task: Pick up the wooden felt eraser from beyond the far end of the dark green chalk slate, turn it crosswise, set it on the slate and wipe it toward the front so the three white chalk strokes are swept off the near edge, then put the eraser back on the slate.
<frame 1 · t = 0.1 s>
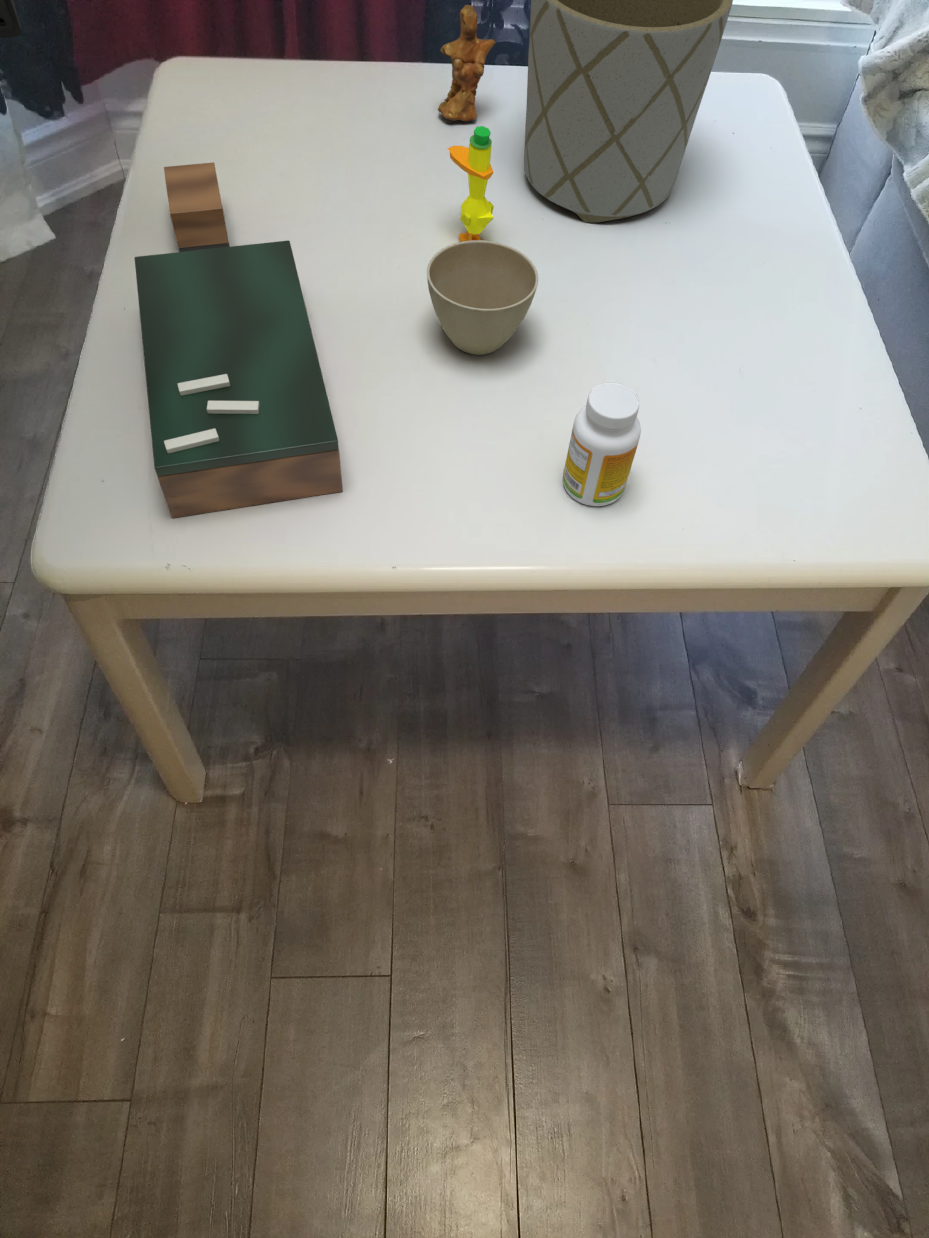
hand: (9, 10, 75), 21 cm above the table, tool pointing down, fingers open, 8 cm apart
eraser: (202, 232, 94), on the table
planter: (596, 182, 103), on the table
flower pot: (477, 339, 88), on the table
chalk stroke 3: (204, 387, 74), point 6 cm above the table, touching chalkboard
chalk stroke 2: (233, 409, 73), point 6 cm above the table, touching chalkboard
toy figure: (469, 241, 96), on the table
figurine: (461, 120, 109), on the table
chalkboard: (240, 395, 82), on the table
supplement bottle: (592, 485, 78), on the table
chalk stroke 1: (192, 443, 70), point 6 cm above the table, touching chalkboard
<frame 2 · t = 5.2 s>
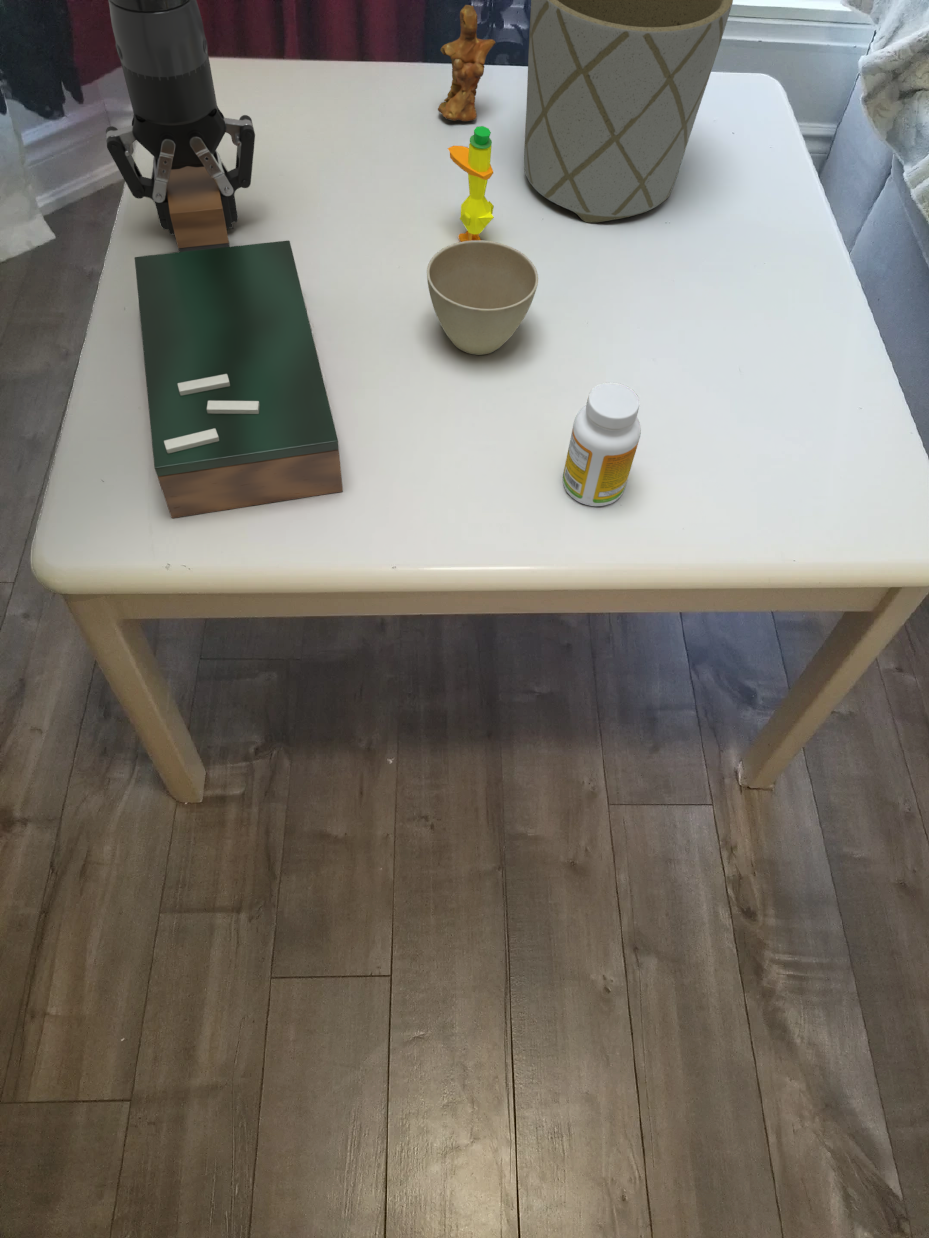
hand: (200, 226, 94), 1 cm above the table, tool pointing down, fingers closed on eraser, 5 cm apart
eraser: (202, 232, 94), on the table, touching gripper
everything else where it was.
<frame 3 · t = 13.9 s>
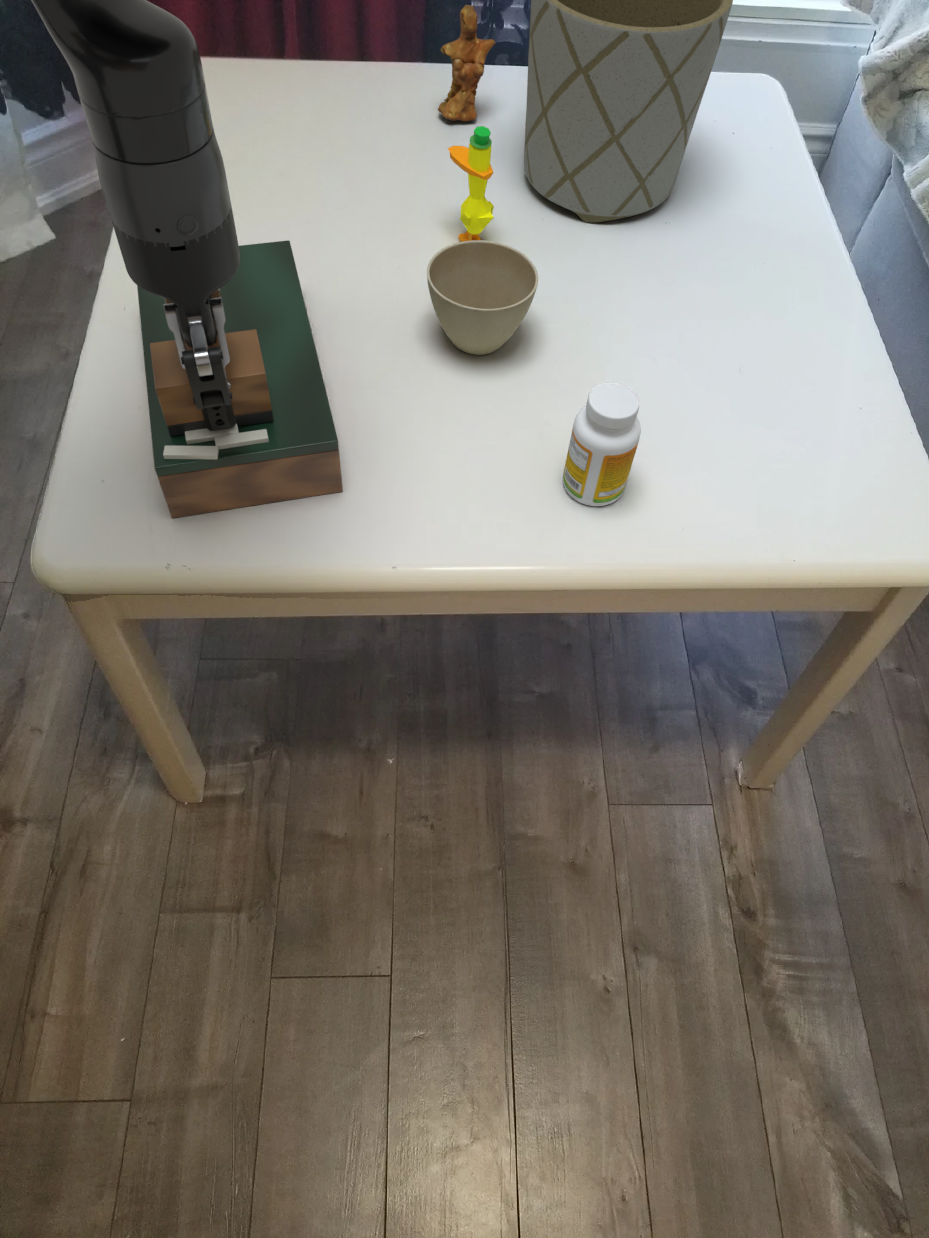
hand: (216, 400, 72), 7 cm above the table, tool pointing down, fingers closed on eraser, 5 cm apart
eraser: (218, 407, 73), point 6 cm above the table, touching chalk stroke 3, gripper
chalk stroke 3: (212, 436, 71), point 6 cm above the table, touching chalkboard, eraser
chalk stroke 2: (242, 441, 71), point 6 cm above the table, touching chalk stroke 1, chalkboard
chalk stroke 1: (191, 454, 70), point 6 cm above the table, touching chalk stroke 2, chalkboard
everything else where it was.
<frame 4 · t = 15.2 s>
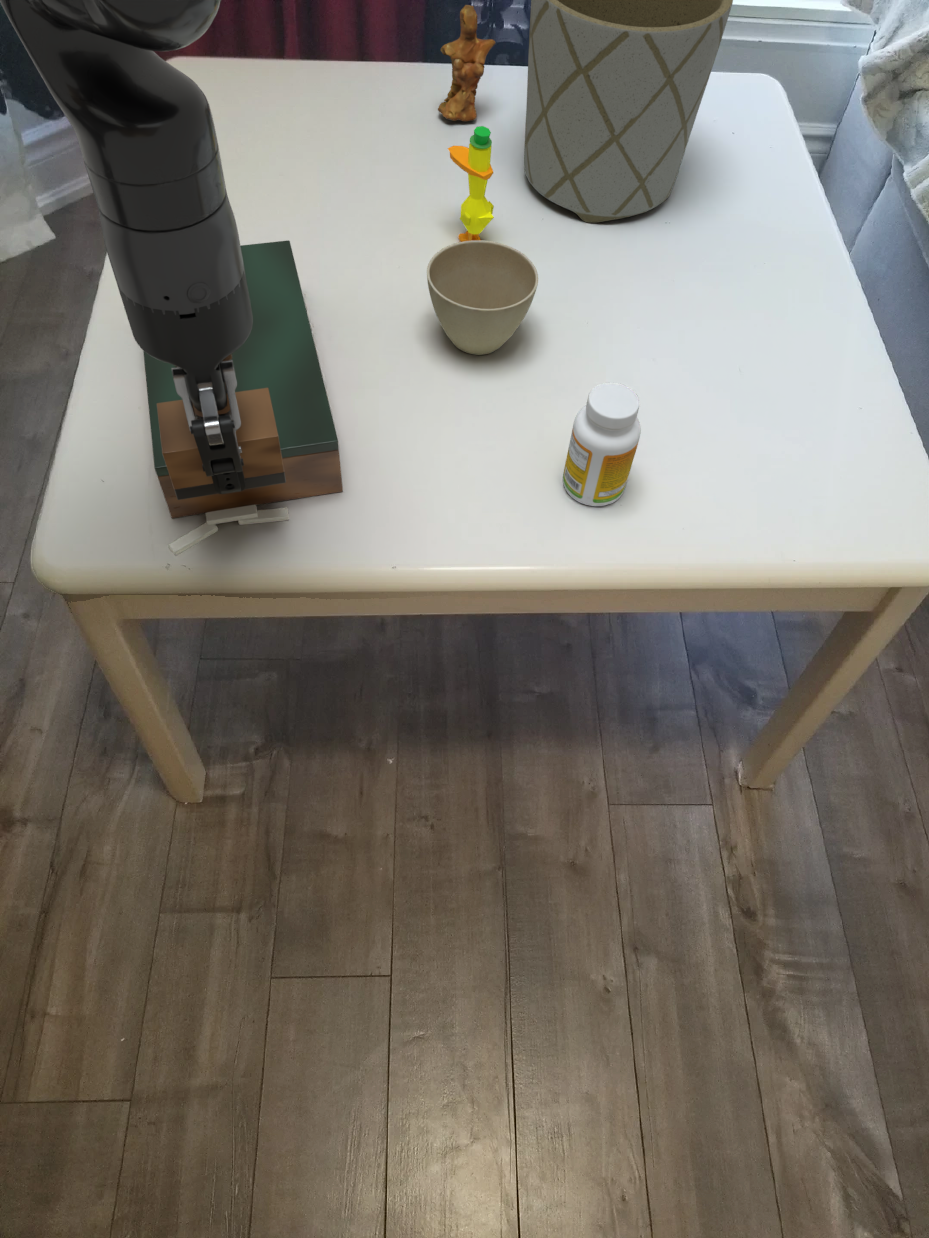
hand: (226, 460, 69), 7 cm above the table, tool pointing down, fingers closed on eraser, 5 cm apart
eraser: (228, 467, 69), point 6 cm above the table, touching gripper
chalk stroke 3: (231, 512, 73), point 1 cm above the table, tilted 178°, touching chalk stroke 1, chalk stroke 2
chalk stroke 2: (262, 514, 74), on the table, tilted 180°, touching chalk stroke 3
chalk stroke 1: (192, 535, 73), on the table, tilted 180°, touching chalk stroke 3
everything else where it was.
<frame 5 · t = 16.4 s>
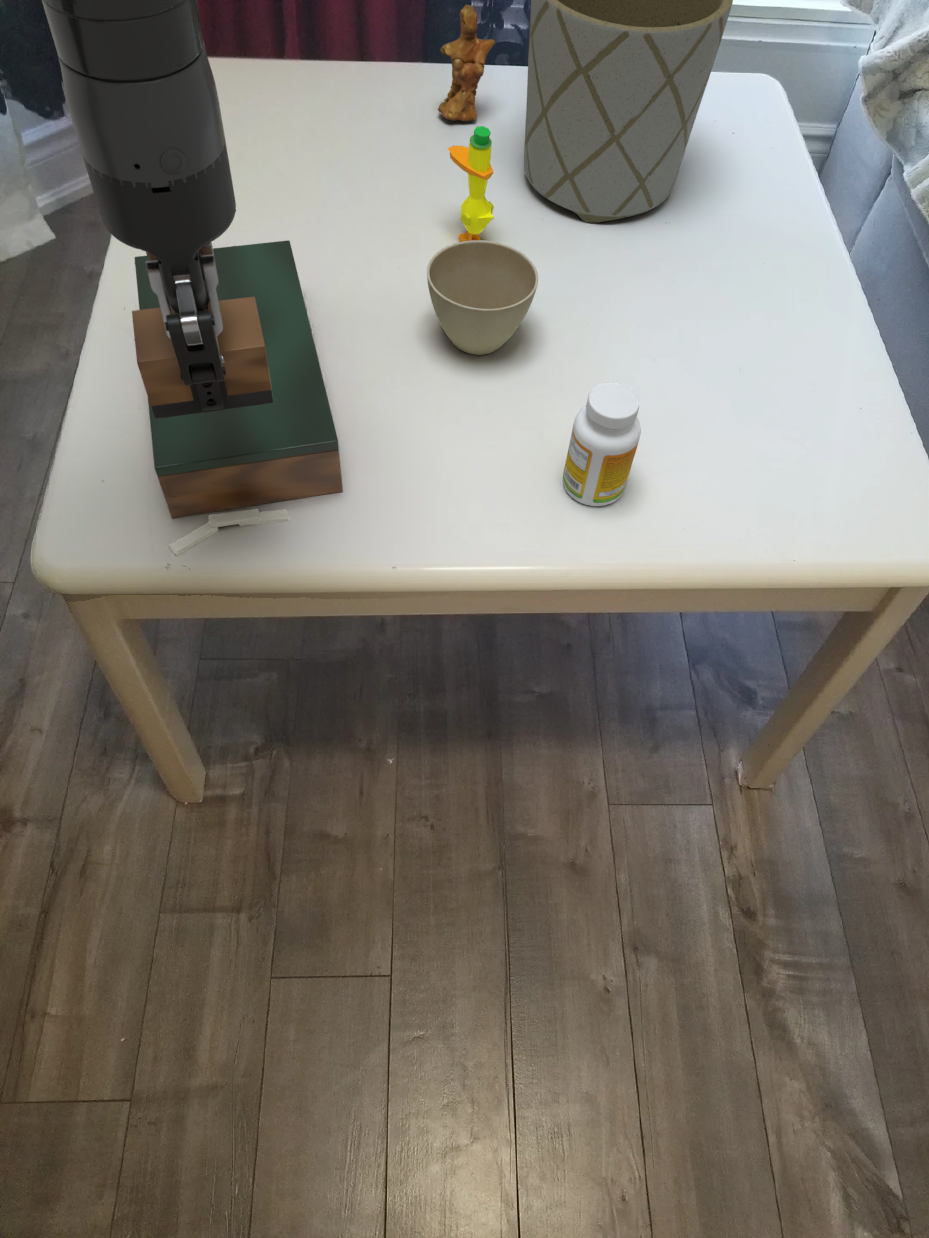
hand: (208, 378, 63), 14 cm above the table, tool pointing down, fingers closed on eraser, 5 cm apart
eraser: (211, 386, 64), point 13 cm above the table, touching gripper
chalk stroke 3: (233, 516, 73), point 1 cm above the table, tilted 179°, touching chalk stroke 2
chalk stroke 1: (193, 536, 73), on the table, tilted 180°
everything else where it was.
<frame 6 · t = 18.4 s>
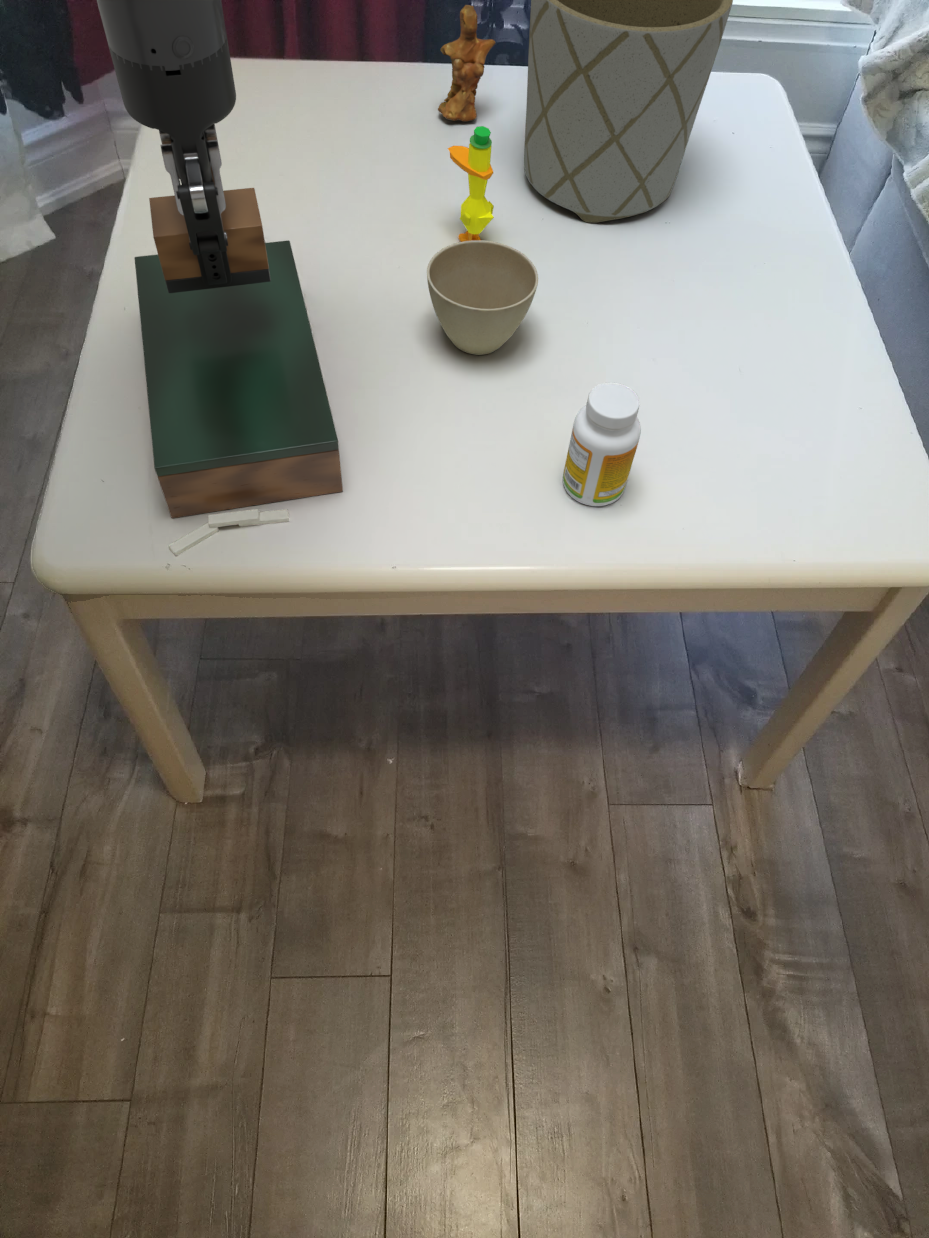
hand: (214, 260, 73), 12 cm above the table, tool pointing down, fingers closed on eraser, 5 cm apart
eraser: (217, 268, 74), point 11 cm above the table, touching gripper
everything else where it was.
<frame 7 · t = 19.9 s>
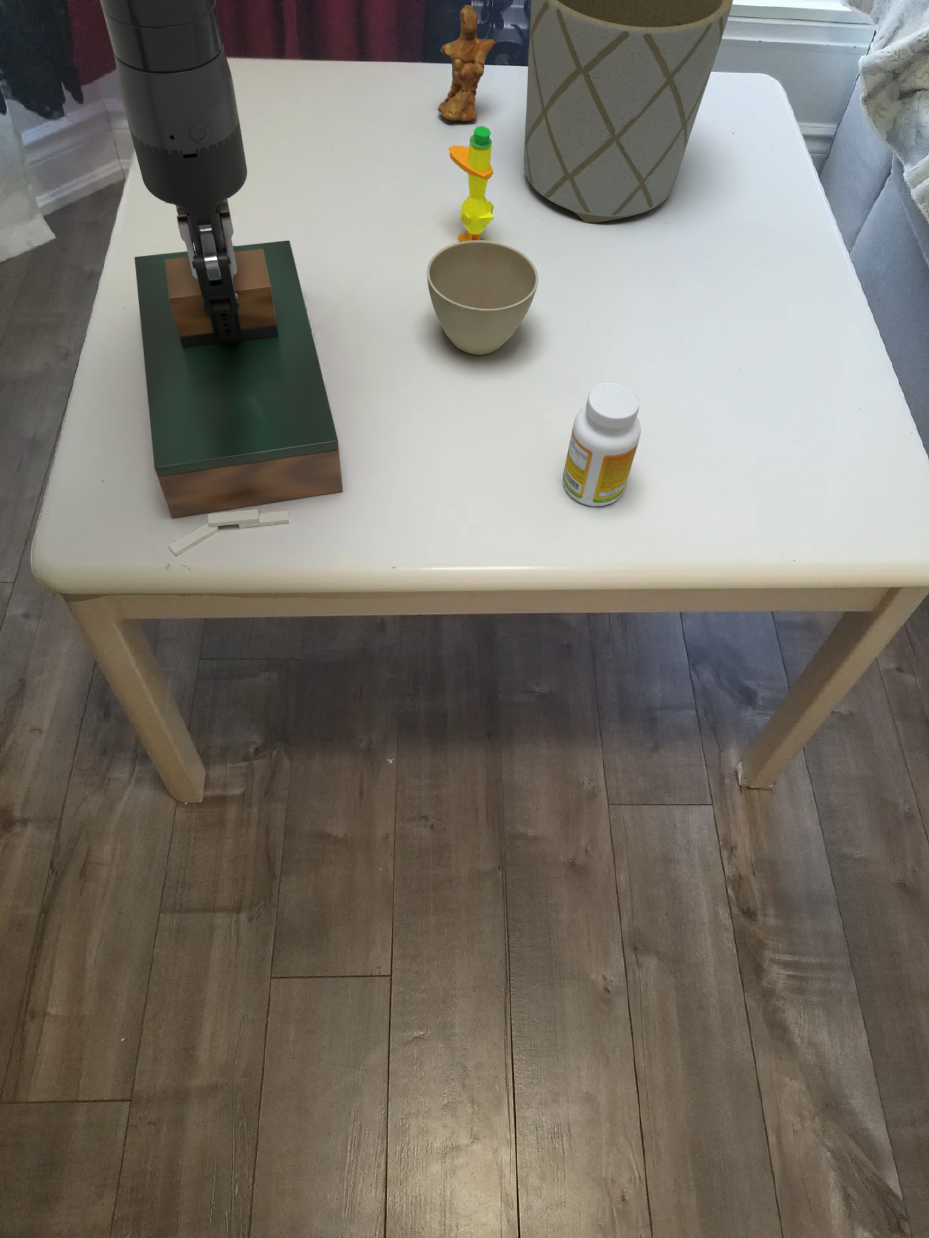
hand: (225, 316, 77), 7 cm above the table, tool pointing down, fingers closed on eraser, 5 cm apart
eraser: (227, 323, 78), point 6 cm above the table, touching chalkboard, gripper
chalk stroke 3: (232, 516, 73), point 1 cm above the table, tilted 179°, touching chalk stroke 1, chalk stroke 2
chalk stroke 1: (193, 536, 73), on the table, tilted 180°, touching chalk stroke 3
everything else where it was.
when the fingers open (7 cm above the table, at t = 20.1 s): eraser stays where it is, resting on chalkboard.
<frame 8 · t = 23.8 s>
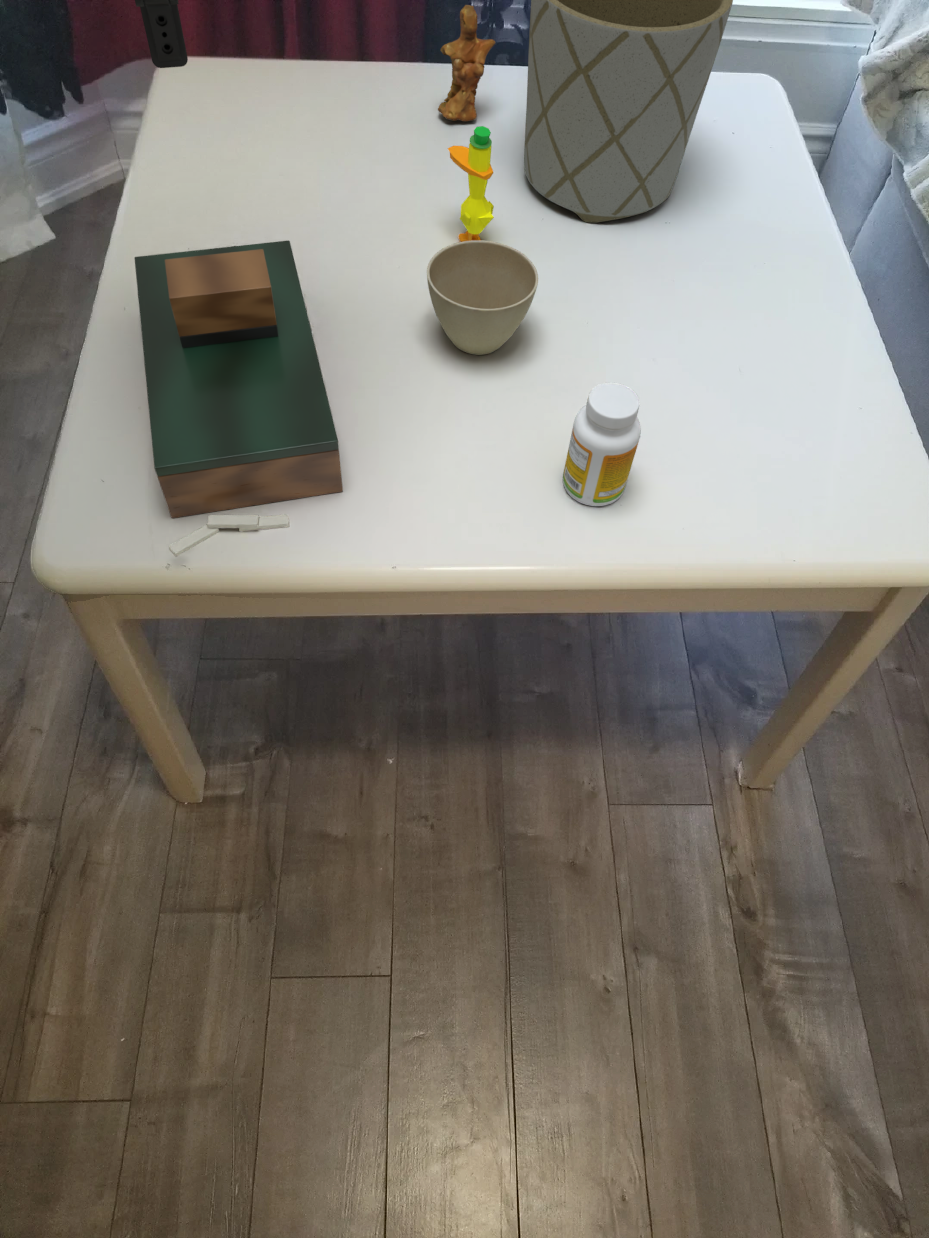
hand: (166, 32, 61), 28 cm above the table, tool pointing down, fingers open, 8 cm apart
eraser: (227, 323, 78), point 6 cm above the table, touching chalkboard
chalk stroke 3: (232, 519, 73), point 1 cm above the table, tilted 178°, touching chalk stroke 2
chalk stroke 1: (193, 537, 73), on the table, tilted 180°
at the end: chalk stroke 1 inside the target area on the table beside the chalkboard (7.8 cm from its centre), on the table; chalk stroke 2 inside the target area on the table beside the chalkboard (6.2 cm from its centre), on the table; chalk stroke 3 inside the target area on the table beside the chalkboard (6.7 cm from its centre), point 0.9 cm above the table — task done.
